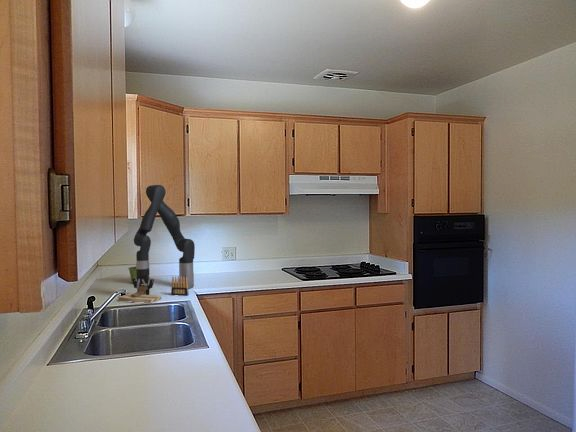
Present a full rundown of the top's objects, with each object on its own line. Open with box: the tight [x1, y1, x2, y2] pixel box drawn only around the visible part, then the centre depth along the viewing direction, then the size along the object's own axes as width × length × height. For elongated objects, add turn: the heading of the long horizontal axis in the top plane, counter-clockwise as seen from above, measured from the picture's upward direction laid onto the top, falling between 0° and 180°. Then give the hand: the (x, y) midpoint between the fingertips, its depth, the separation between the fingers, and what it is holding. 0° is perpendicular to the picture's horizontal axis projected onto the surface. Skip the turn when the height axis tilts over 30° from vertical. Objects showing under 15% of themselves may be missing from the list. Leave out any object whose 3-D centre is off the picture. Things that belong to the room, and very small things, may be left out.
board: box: [117, 293, 162, 304], centre depth 235 cm, size 10×22×2 cm, turn 74°
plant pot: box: [128, 265, 138, 285], centre depth 283 cm, size 12×12×11 cm
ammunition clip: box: [170, 275, 189, 297], centre depth 248 cm, size 11×2×12 cm, turn 82°
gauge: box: [130, 284, 148, 297], centre depth 239 cm, size 12×5×8 cm, turn 165°
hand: (143, 295), depth 243 cm, fingers closed on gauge, 5 cm apart
